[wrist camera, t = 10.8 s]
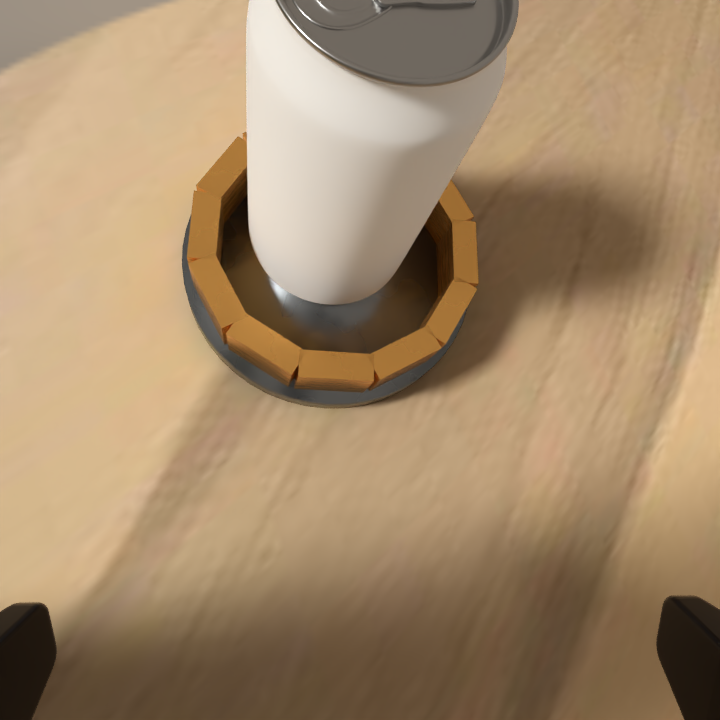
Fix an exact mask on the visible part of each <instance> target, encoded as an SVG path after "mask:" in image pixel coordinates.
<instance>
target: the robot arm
mask: <svg viewBox="0 0 720 720" xmlns="http://www.w3.org/2000/svg"><path fill="white" fill-rule="evenodd" d="M656 645H657V653H658V657H659V660H660V662H661V665H662V667H663V669H664V672H665V674H666V677H667V679H668V681H669V684H670V686H671V689H672V691H673V693H674V696H675V698H676V701H677V703H678V706H679V708H680V710H681V713H682V715H683V718H684V720H720V609H718V608H716V607H715V606H713V605H711V604H710V603H708V602H706V601H705V600H703V599H701V598H699V597H697V596H691V595H690V596H669V597H667V598H666V599H665V601H664V603H663V607H662V612H661V618H660V623H659V629H658V634H657V642H656ZM56 653H57V648H56V642H55V638H54V633H53V629H52V624H51V619H50V615H49V611H48V608H47V607H46V605H44V604H43V603H15V604H12V605H11V606H9V607H7V608H6V609H4V610H2V611H1V612H0V720H32V717H33V715H34V712H35V710H36V708H37V705H38V703H39V700H40V698H41V695H42V693H43V691H44V688H45V686H46V683H47V681H48V679H49V676H50V674H51V671H52V669H53V666H54V663H55V660H56Z"/></svg>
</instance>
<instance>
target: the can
mask: <svg viewBox="0 0 720 720" xmlns="http://www.w3.org/2000/svg"><path fill="white" fill-rule="evenodd" d="M518 7H519V1H518V0H249V6H248V15H247V31H246V104H247V181H248V224H249V235H250V240H251V244H252V247H253V250H254V252H255V255H256V257H257V259H258V261H259V262H260V264H261V266H262V267H263V269H264V270H265V272H266V273H267V274H268V275H269V277H270V278H271V279H272V280H273V281H274V282H275V283H276V284H278V285H279V286H280V287H281V288H283V289H284V290H286V291H287V292H289V293H291V294H293V295H295V296H297V297H299V298H301V299H304V300H307V301H310V302H314V303H319V304H328V305H338V304H347V303H352V302H356V301H359V300H362V299H364V298H366V297H368V296H370V295H372V294H374V293H375V292H377V291H378V290H380V289H381V288H382V287H383V286H384V285H385V284H386V283H387V282H388V281H389V280H390V279H391V278H392V276H393V275H394V274H395V272H396V271H397V269H398V268H399V266H400V264H401V263H402V261H403V259H404V258H405V256H406V255H407V253H408V251H409V249H410V248H411V246H412V244H413V243H414V241H415V239H416V238H417V236H418V234H419V233H420V231H421V229H422V228H423V226H424V224H425V223H426V221H427V219H428V217H429V216H430V214H431V212H432V211H433V209H434V207H435V206H436V204H437V202H438V200H439V199H440V197H441V195H442V194H443V192H444V190H445V189H446V187H447V185H448V183H449V182H450V180H451V178H452V177H453V175H454V173H455V171H456V170H457V168H458V166H459V165H460V163H461V161H462V159H463V158H464V156H465V154H466V153H467V151H468V149H469V147H470V146H471V144H472V142H473V140H474V139H475V137H476V135H477V133H478V132H479V130H480V128H481V126H482V125H483V123H484V121H485V119H486V117H487V116H488V114H489V112H490V110H491V108H492V106H493V104H494V102H495V100H496V98H497V95H498V93H499V91H500V88H501V85H502V82H503V78H504V74H505V67H506V56H507V44H508V42H509V40H510V38H511V36H512V34H513V32H514V29H515V26H516V22H517V17H518Z"/></svg>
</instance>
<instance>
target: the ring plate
mask: <svg viewBox="0 0 720 720" xmlns="http://www.w3.org/2000/svg"><path fill="white" fill-rule="evenodd" d="M196 186H197V191H194V195H193V205H192V214H191V217H190V219H189V222H188V225H187V228H186V232H185V238H184V243H183V255H182V269H183V277H184V285H185V289H186V292H187V296H188V300H189V304H190V307H191V310H192V313H193V315H194V318H195V320H196V322H197V325H198V327H199V329H200V331H201V332H202V334H203V336H204V337H205V339H206V341H207V342H208V344H209V345H210V347H211V348H212V349H213V350H214V352H215V353H216V354H217V355H218V357H219V358H220V359H221V360H222V361H223V362H224V363H225V364H226V365H227V366H228V367H229V368H230V369H231V370H232V371H233V372H235V373H236V374H237V375H238V376H240V377H241V378H243V379H244V380H245V381H247V382H248V383H249V384H251V385H253V386H254V387H256V388H258V389H260V390H262V391H264V392H265V393H267V394H269V395H272V396H275V397H277V398H280V399H282V400H285V401H288V402H292V403H296V404H300V405H304V406H310V407H319V408H348V407H354V406H361V405H366V404H369V403H373V402H376V401H380V400H382V399H385V398H387V397H389V396H391V395H394V394H396V393H398V392H400V391H401V390H403V389H405V388H406V387H408V386H409V385H411V384H413V383H414V382H415V381H416V380H418V379H419V378H420V377H421V376H422V375H424V374H425V373H426V372H427V371H428V370H430V369H431V368H432V367H433V366H434V365H435V364H436V363H437V362H438V361H439V360H440V359H441V357H442V356H443V355H444V354H445V353H446V351H447V350H448V348H449V347H450V345H451V344H452V342H453V341H454V339H455V338H456V336H457V333H458V331H459V329H460V327H461V325H462V323H463V320H464V316H465V313H466V310H467V306H468V304H469V303H470V301H471V299H472V298H473V296H474V294H475V292H476V291H477V288H475V287H476V286H477V285H478V284H479V281H478V260H477V239H476V222H473V221H471V220H472V219H473V217H474V216H473V214H472V212H471V211H470V209H469V208H468V206H467V204H466V203H465V201H464V199H463V198H462V196H461V195H460V193H459V191H458V190H457V188H456V186H455V185H454V183H453V182H452V180H450V182H449V183H448V185H447V187H446V189H445V190H444V192H443V194H442V195H441V197H440V199H439V200H438V202H437V204H436V206H435V207H434V209H433V211H432V212H431V214H430V216H429V217H428V219H427V221H426V223H425V224H424V226H423V228H422V229H421V231H420V233H419V234H418V236H417V238H416V239H415V241H414V243H413V244H412V246H411V248H410V249H409V251H408V253H407V255H406V256H405V258H404V259H403V261H402V263H401V264H400V266H399V268H398V269H397V271H396V272H395V274H394V275H393V276H392V278H391V279H390V280H389V281H388V282H387V283H386V284H385V285H384V286H383V287H382V288H381V289H380V290H378V291H377V292H375V293H374V294H372V295H370V296H368V297H366V298H364V299H362V300H359V301H356V302H352V303H347V304H338V305H328V304H319V303H314V302H310V301H307V300H304V299H301V298H299V297H297V296H295V295H293V294H291V293H289V292H287V291H286V290H284V289H283V288H281V287H280V286H279V285H278V284H276V283H275V282H274V281H273V280H272V279H271V278H270V277H269V275H268V274H267V273H266V272H265V270H264V269H263V267H262V266H261V264H260V262H259V261H258V259H257V257H256V255H255V252H254V250H253V247H252V244H251V240H250V235H249V224H248V181H247V132H245V133H243V139H241V138H240V137H237V138H236V139H235V140H234V142H233V143H232V144H231V145H230V146H229V148H228V149H227V150H226V151H225V152H224V153H223V155H222V156H221V157H220V158H219V159H218V160H217V162H216V163H215V164H214V165H213V166H212V167H211V169H210V170H209V171H208V172H207V173H206V175H205V176H204V177H203V178H202V179H201V180H200V182H199V183H198V184H197V185H196Z"/></svg>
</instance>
